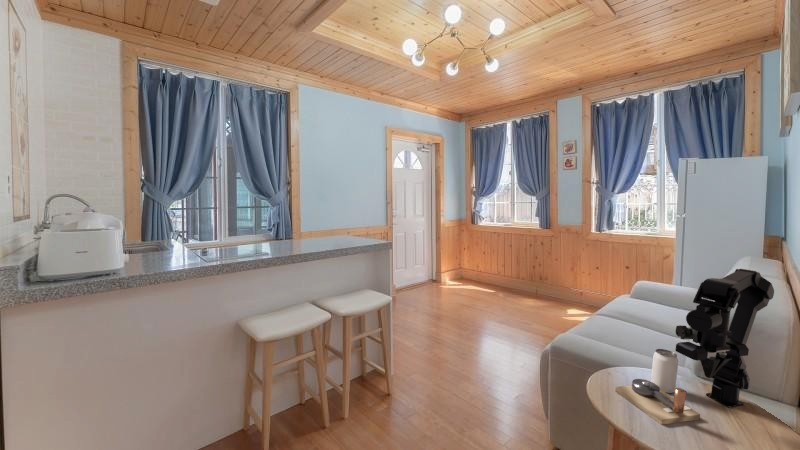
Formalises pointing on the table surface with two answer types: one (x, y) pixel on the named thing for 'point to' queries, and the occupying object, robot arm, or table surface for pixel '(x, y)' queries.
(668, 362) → the can
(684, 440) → the table surface
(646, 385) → the lever
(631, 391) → the stand
